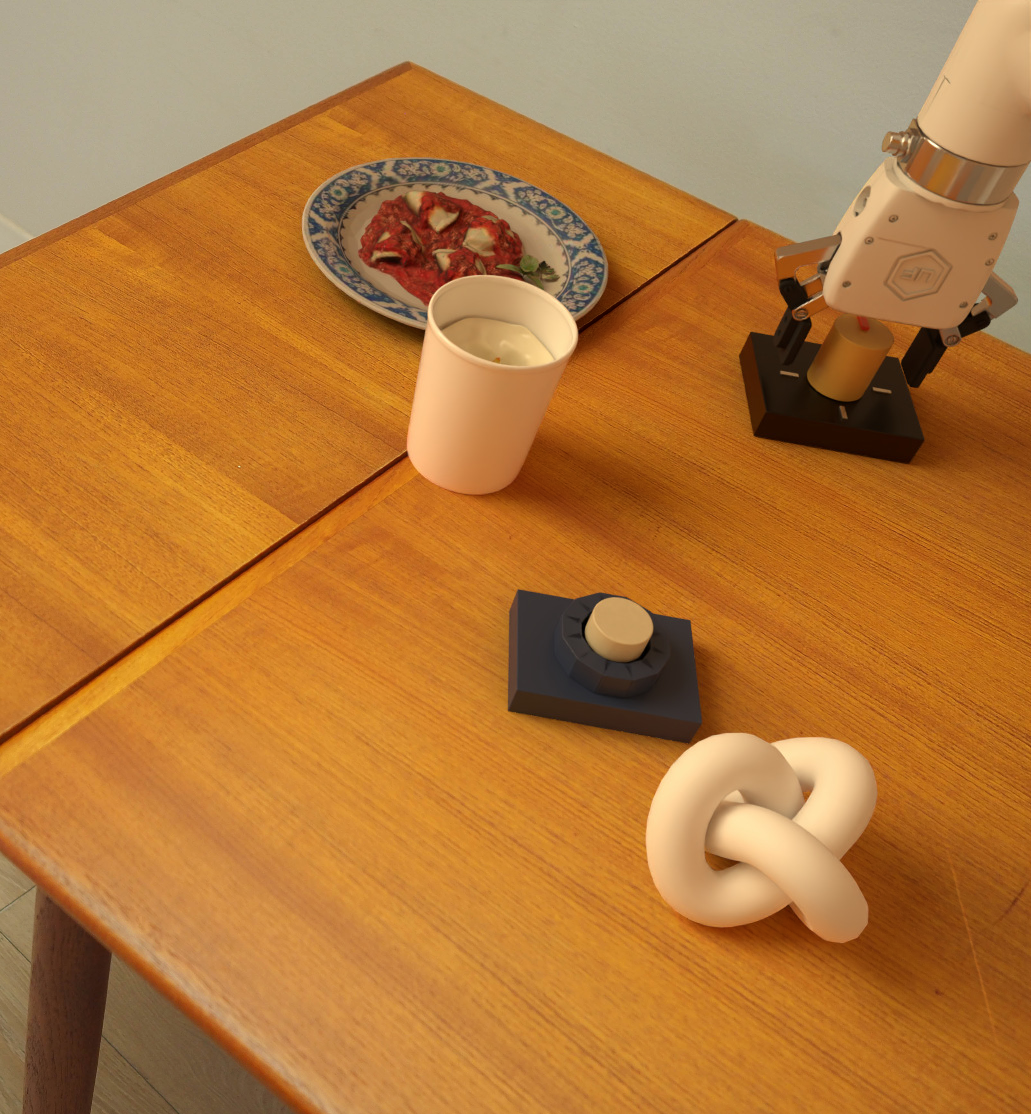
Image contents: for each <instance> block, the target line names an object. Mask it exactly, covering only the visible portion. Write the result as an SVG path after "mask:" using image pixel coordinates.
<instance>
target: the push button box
mask: <svg viewBox="0 0 1031 1114" xmlns="http://www.w3.org/2000/svg"><path fill="white" fill-rule="evenodd" d="M613 597H617V598H624V599H627V600H630V601H633V602H635V603H636V604H638V605H639V606H641V607H642V608H643V609H644V610H645V611H646V612H647V613H648V614H649V616H650V618H651V620H652V623H653V633H652V635H651V637H650V639H649V641H648V643H647V645H646V647H645V649H644V651H643V652H642V654H641V655H640V656H639V657H638V658H637V659H635V660H633V661H630V662H614V661H611V660H608V659H605V658H603V657H601V656H600V655H598V654H597V653H596V652H595V651H594V650H593V649H592V648H591V647H590V646H589V644H588V642H587V640H586V637H585V627H586V625H587V623H588V620H589V618H590V616H591V614H592V612H593V610H594V607H595V606H596V605H597V604H598V603H599V602H600V601H602V600H604V599H607V598H613ZM694 646H695V645H694V638H693V629H692V621H691V620H690V619H688V618H687V619H685V618H680V617H676V616H671V615H670V616H669V615H664V614H659V613H654V612H652V611H651V610H649V609H648V608H646V607H644V606H643V605H641V604H639V603H638V602H636V601H635V600H633V599H631V598H629V597H627V596H624V595H623V596H622V595H618V594H613V593H612V594H611V593H607V592H601V591H600V592H595V593H591V594H588V595H584V596H580V597H577V598H571V597H564V596H559V595H552V594H549V593H548V594H547V593H543V592H536V591H532V590H526V589H520V588H517V590H516V592H515V595H514V598H513V600H512V603H511V605H510V608H509V610H508V662H507V664H508V666H507V671H508V672H507V712H510V713H515V712H516V713H515V714H521V715H527V716H531V715H532V717H536V718H537V717H538V718H543V719H549V720H554V719H556V720H555V721H559V722H560V721H561V722H565V721H566V722H565V723H570V722H571V724H576V723H577V725H582V726H588V727H594V728H599V729H603V730H609V729H610V731H615V730H616V732H621V731H623V732H621V733H627V734H631V735H632V734H633V735H637V734H638V736H643V735H644V736H643V737H648V736H650V737H649V738H655V739H659V738H660V739H659V740H667V741H671V740H672V742H676V741H677V742H676V743H682V744H687V743H688V745H690V744H691V742H692V741H693V740H694V738H695V736H696V735H697V733H698V732H699V730H700V728H701V726H702V725H703V717H702V709H701V699H700V690H699V682H698V681H699V680H698V673H697V664H696V655H695V647H694ZM689 743H690V744H689Z"/></svg>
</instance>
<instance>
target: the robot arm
mask: <svg viewBox="0 0 1031 1114" xmlns="http://www.w3.org/2000/svg"><path fill="white" fill-rule="evenodd" d="M909 123H910V124H909V125H908V127H907V129H905V131H903V130H901V131H899V132H896V131H887V132H886V133H885V136H884V137H883V139H882V143H881V152H882V153H885V154H891V155H892V156H888V157H886V158H885V159H884V160H883V162H881V164H880V165H879V166H878V167H877V169H876V170H875V171H874V172H873V173H872V175H871V176H870V178H869V179H868V180H867V181H866V183H865V184H864V185H863V187H862V188H860V189H861V190H859V192H858V193H857V195H856V196H855V197H854V199H853V201H852V202H851V203H850V205H849V207H848V208H847V209H846V211H845V213H844V215H842V218H841V219H840V221H839V222H838V224H837V226H836V228H835V229H834V231H833V233H832V235H828V236H824V237H820V238H815V239H810V240H806V241H802V242H797V243H792V244H788V245H784V246H780V247H778V248H776V249H775V251H774V252H773V258H774V267H775V275H776V282H777V287H778V291H779V293H780V295H781V297H782V298H783V300H784V302H785V303H786V305H787V307H786V309H785V312H784V313H783V315H782V317H781V319H780V321H779V323H778V325H777V328H776V329H775V331H774V333H773V336H774V338H773V342H774V346H775V347H777V348H778V352H779V357H780V361H781V364H782V365H787V366H789V365H790V364H793V362H794V360H795V358H796V356H797V354H798V352H799V350H800V348H801V347H802V345H803V343H804V341H806V339H807V337H808V335H809V333H810V332H811V329H812V327H813V323H812V319H811V317H813V316H815V315H817V314H819V313H821V312H822V311H824V310H826V309H828V308H831V309H832V310H834V311H836V312H839V313H842V314H845V313H846V314H850V315H855V316H861V317H866V318H872V319H876V320H878V321H882V322H883V321H884V322H889V323H895V324H900V325H906V326H912V327H917V328H920V329H919V330H918V332H917V334H916V335H915V337H914V338H913V341H912V342H911V344H910V345H909V347H908V348H907V350H906V351H905V353H904V355H903V357H902V358H901V360H900V364H901V367H902V370H903V373H904V376H905V380H906V383H907V386H908V387H909V388H913V389H919V387H921V385H922V383H923V382H924V380H925V378H926V377H927V375H930V374H932V373H933V372H934V370H935V369H936V368H937V365H938V363H939V362H940V361H941V359H942V358H943V356H944V354H945V353H946V351H947V349H948V348H954V347H957V346H958V345H959V344H960V343H961V342H962V339H963V338H966V337H968V336H971V335H972V334H974V333H978V332H980V331H982V330H985V329H987V328H988V327H989V326H990V325H991V322H992V321H993V320H994V319H998V318H999V317H1001V316H1002V315H1004V314H1005V313H1006V312H1008V311H1009V310H1010V309H1012V308H1014V307H1016V305H1017V304H1018V303H1019V298H1018V296H1017V294H1016V292H1015V290H1014V288H1013V286H1011V285H1010V284H1009V283H1008V282H1006V281H1005V280H1004V279H1003V278H1002V277H1001V276H999V275H998V274H997V273H996V272H994V271H993V270H994V268H995V267H996V265H997V262H998V260H999V258H1000V256H1001V254H1002V252H1003V249H1004V247H1005V244H1006V241H1007V239H1008V237H1009V234H1010V232H1011V229H1012V226H1013V223H1014V221H1015V218H1016V215H1017V212H1018V209H1019V206H1020V199H1019V197H1018V196H1017V195H1016V193H1015V192H1014V190H1015V188H1016V187H1017V185H1018V183H1019V182H1020V180H1021V178H1022V177H1023V175H1024V173H1025V172H1026V170H1027V169H1028V167H1029V165H1030V164H1031V0H977V1H976V3H975V4H974V7H973V9H972V11H971V13H970V14H969V16H968V18H967V20H966V22H965V24H964V26H963V27H962V30H961V32H960V34H959V36H958V38H957V40H956V41H955V44H954V46H953V48H952V49H951V51H950V53H949V55H948V57H947V59H946V61H945V63H944V65H943V66H942V69H941V70H940V72H939V74H938V76H937V79H936V80H935V82H934V84H933V86H932V88H931V90H930V91H929V94H928V95H927V97H926V98H925V101H924V102H923V105H922V107H921V108H920V109H919V113H918V114H917V117H916V118H912V120H911V121H910V122H909ZM816 264H817V266H816V272H817V273H815V274H813V275H811V276H809V277H807V278H806V279H804V280H801V282H800V281H799V280H798V278H797V275H796V274H797V271H798V269H801V268H802V267H805V266H811V265H816ZM981 294H983V295H984V297H983V298H982V299H981V300H980V302H977V301H978V299H979V297H980V295H981Z"/></svg>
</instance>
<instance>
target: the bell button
mask: <svg viewBox="0 0 1031 1114" xmlns="http://www.w3.org/2000/svg"><path fill="white" fill-rule="evenodd" d="M633 601H634V600H632V601H630V600H627V599H624V598H617V597H613V598H607V599H604V600H602V601H600V602H599V603H598V604H597V605H596V606H595V607H594V610H593V612H592V614H591V616H590V618H589V620H588V623H587V625H586V627H585V637H586V640H587V642H588V644H589V646H590V647H591V648H592V649H593V650H594V651H595V652H596V653H597V654H598V655H600V656H601V657H603V658H605V659H608V660H611V661H614V662H630V661H633V660H635V659H637V658H638V657H639V656H640V655H641V654H642V652H643V651H644V649H645V647H646V645H647V643H648V641H649V639H650V637H651V635H652V633H653V623H652V620H651V618H650V616H649V614H648V613H647V612H646V611H645V610H644V609H643V608H642V607H641V606H642V605H641V606H639V605H640V604H639V603H638V604H639V605H638V604H636V603H637V602H636V601H634V602H633ZM635 602H636V603H635Z"/></svg>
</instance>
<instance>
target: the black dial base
mask: <svg viewBox="0 0 1031 1114" xmlns="http://www.w3.org/2000/svg"><path fill="white" fill-rule="evenodd" d="M773 338H774V334H768V333H767V334H766V333H762V332H756V331H750V332H749V334H748V335H747V337H746V339H745V342H744V344H743V346H742V347H741V351H740V353H739V354H738V358H739V363H740V369H741V375H742V380H743V385H744V392H745V396H746V401H747V409H748V413H749V418H750V423H751V424H750V425H751V428H752V434H753V436H754V437H758V438H763V439H768V440H773V441H779V442H784V443H791V444H796V445H801V446H806V447H807V446H808V447H813V448H819V449H824V450H830V451H835V452H841V453H847V454H851V455H852V454H853V455H857V456H862V457H869V458H875V459H880V460H885V461H891V462H896V463H902V464H907V465H908V464H911V462H912V461H913V459H914V457H915V456H916V455H917V453H918V452H919V450H920V448H921V447H922V446H923V444H924V443H925V440H926V439H925V436H924V433H923V429H922V426H921V423H920V420H919V417H918V414H917V410H916V407H915V404H914V402H913V399H912V395H911V392H910V389H909V385H908V384H907V381H906V378H905V375H904V372H903V369H902V366H901V360H900V358H899V357H896V356H890V355H886V357H885V359H884V361H883V362H882V364H881V366H880V367H879V369H878V371H877V372H876V374H875V376H874V377H873V379H872V381H871V382H870V384H869V386H868V388H867V389H866V391H865V393H864V394H863V396H862V397H861V398H860V399H858V400H855V401H849V402H846V401H838V400H834V399H831V398H829V397H827V396H825V395H823V394H821V393H820V392H818V391H817V390H816V389H814V388H813V387H812V385H811V384H810V383H809V381H808V378H807V372H808V370H809V368H810V366H811V364H812V362H813V361H814V359H815V357H816V355H817V353H818V351H819V349H820V348H821V346H822V344H823V343H817V342H812V341H806V340H805V341H804V343H803V345H802V347H801V348H800V350H799V352H798V354H797V356H796V358H795V360H794V362H793V364H790V365H789V366H787V365H782V364H781V361H780V357H779V352H778V348H777V347H775V346H774V342H773Z"/></svg>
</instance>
